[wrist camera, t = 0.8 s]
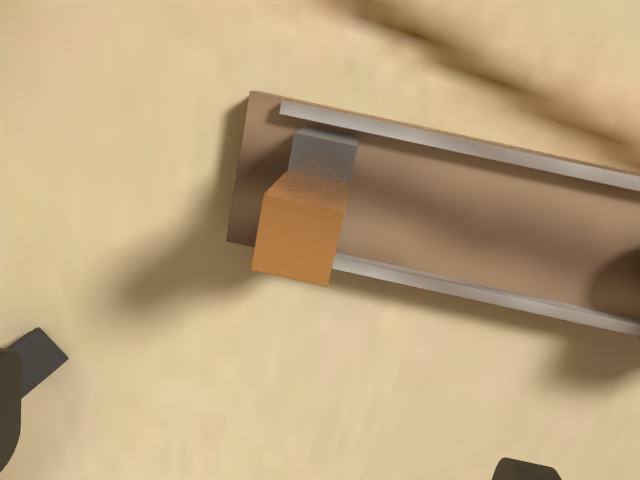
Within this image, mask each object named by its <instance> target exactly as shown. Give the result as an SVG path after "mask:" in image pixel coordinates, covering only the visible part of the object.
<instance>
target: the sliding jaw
mask: <svg viewBox="0 0 640 480" xmlns="http://www.w3.org/2000/svg"><path fill="white" fill-rule="evenodd" d="M357 145H358V137H355V136H351V135H346V134H341V133H337V132H332V131H327V130H323V129H318V128H314V127H309V126H305V127H303V128H302V129H300V130H298V131H296V132H295V133H294V138H293V144H292V149H291V154H290V160H289V165H288V170H287V171H286V172H285V173H284V174H283V175H282V176H281V177H280V178H279V179H278V180H277V181H276V182H275V183H274V184H273V185H272V187H271V188H270V189H269V190H268V191H267V192H266V193H265V194H264V197H263V203H262V209H261V214H260V220H259V226H258V231H257V237H256V243H255V249H254V254H253V260H252V266H251V270H253V271H258V272H262V273H267V274H271V275H276V276H280V277H285V278H289V279H294V280H298V281H303V282H307V283H312V284H316V285H321V286H325V287H328V283H329V279H330V274H331V270H332V266H333V261H334V257H335V252H336V248H337V243H338V239H339V234H340V230H341V226H342V221H343V217H344V212H345V206H346V200H347V193H348V187H349V181H350V177H351V172H352V168H353V163H354V159H355V155H356V150H357Z"/></svg>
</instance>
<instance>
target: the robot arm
mask: <svg viewBox="0 0 640 480" xmlns="http://www.w3.org/2000/svg"><path fill="white" fill-rule="evenodd" d="M21 388H22V361H21V357H20V355H19V354H18V353H17V352H16V351H12V350H7V349H3V348H0V472H1V471H2V470H3V469H4V467H5V466H6V465H7V463H8V462H9V460H10V458H11V457H12V455H13V453H14V451H15V448H16V446H17V443H18V440H19V436H20V429H21ZM492 480H561V478H560V476H559V474H558V473H557V471H556V470H555V469H553V468H552V467H548V466H543V465H538V464H534V463H529V462H524V461H520V460H515V459H510V458H506V457H505V458H502V459H501V460H500V461H499V463H498V465H497V467H496V469H495V472H494V475H493V478H492Z"/></svg>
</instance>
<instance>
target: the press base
mask: <svg viewBox="0 0 640 480" xmlns="http://www.w3.org/2000/svg"><path fill="white" fill-rule="evenodd" d="M305 126H309V127H314V128H318V129H323V130H327V131H332V132H337V133H341V134H346V135H351V136H355V137H358V145H357V150H356V155H355V159H354V163H353V168H352V172H351V177H350V181H349V187H348V193H347V200H346V206H345V212H344V217H343V221H342V226H341V230H340V234H339V239H338V243H337V248H336V252H335V257H334V261H333V266H332V269H337V270H341V271H346V272H350V273H355V274H359V275H364V276H368V277H373V278H377V279H382V280H386V281H391V282H395V283H400V284H404V285H409V286H413V287H418V288H422V289H427V290H431V291H436V292H440V293H445V294H449V295H454V296H458V297H463V298H467V299H472V300H477V301H481V302H486V303H490V304H495V305H499V306H504V307H508V308H513V309H517V310H522V311H526V312H531V313H535V314H540V315H544V316H549V317H553V318H558V319H562V320H567V321H571V322H576V323H580V324H585V325H589V326H594V327H598V328H603V329H607V330H612V331H616V332H621V333H625V334H630V335H634V336H639V337H640V173H636V172H631V171H626V170H622V169H617V168H612V167H608V166H603V165H599V164H594V163H589V162H585V161H580V160H575V159H571V158H566V157H561V156H557V155H552V154H547V153H543V152H538V151H533V150H529V149H524V148H519V147H515V146H510V145H505V144H501V143H496V142H491V141H487V140H482V139H477V138H473V137H468V136H464V135H459V134H454V133H450V132H445V131H440V130H436V129H431V128H426V127H422V126H417V125H412V124H408V123H403V122H398V121H394V120H389V119H384V118H380V117H375V116H370V115H366V114H361V113H356V112H352V111H347V110H342V109H338V108H333V107H329V106H324V105H319V104H315V103H310V102H305V101H301V100H296V99H291V98H287V97H282V96H277V95H273V94H268V93H263V92H259V91H250V94H249V100H248V107H247V113H246V119H245V126H244V132H243V138H242V145H241V151H240V157H239V164H238V170H237V176H236V183H235V189H234V196H233V202H232V208H231V215H230V221H229V227H228V234H227V240H226V241H228V242H233V243H237V244H242V245H246V246H251V247H255V243H256V237H257V231H258V226H259V220H260V214H261V209H262V203H263V197H264V194H265V193H266V192H267V191H268V190H269V189H270V188H271V187H272V185H273V184H274V183H275V182H276V181H277V180H278V179H279V178H280V177H281V176H282V175H283V174H284V173H285V172H286V171H287V170H288V165H289V160H290V154H291V149H292V144H293V138H294V133H295V132H296V131H298V130H300V129H302V128H303V127H305Z"/></svg>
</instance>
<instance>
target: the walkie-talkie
mask: <svg viewBox="0 0 640 480" xmlns="http://www.w3.org/2000/svg"><path fill="white" fill-rule="evenodd" d="M6 349H7V350H12V351H16V352H17V353H18V354H19V355H20V357H21V361H22V388H21V399H22V398H23V397H24V396H25V395H27V394H28V393H29V392H30V391H31V390H32V389H34V388H35V387H36V386H37V385H38V384H40V383H41V382H42V381H43V380H44V379H45V378H47V377H48V376H49V375H50V374H51V373H53V372H54V371H55V370H56V369H57V368H58V367H60V366H61V365H62V364H63V363H64V362H66V361H67V360H68V357H67V356H66V355H65V354H64V353H63V352H62V351H61V350H60V349H59V348H58V347H57V345H56V344H55V343H54V342H53V341H52V340H51V339H50V338H49V337H48V336H47V335H46V334H45V333H44V332H43V331H42V330H41V328H40V327H38V328H36V329H34V330H33V331H31V332H29V333H27V334H26V335H25V336H23V337H22V338H20V339H19V340H18V341H16V342H15V343H13V344H12V345H10V346H9V347H8V348H6Z"/></svg>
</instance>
